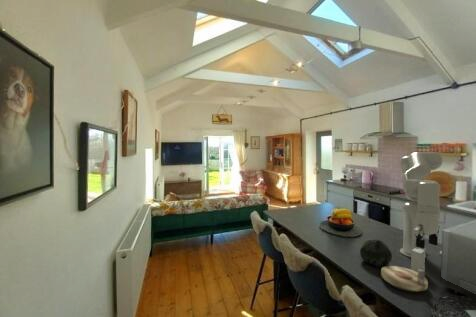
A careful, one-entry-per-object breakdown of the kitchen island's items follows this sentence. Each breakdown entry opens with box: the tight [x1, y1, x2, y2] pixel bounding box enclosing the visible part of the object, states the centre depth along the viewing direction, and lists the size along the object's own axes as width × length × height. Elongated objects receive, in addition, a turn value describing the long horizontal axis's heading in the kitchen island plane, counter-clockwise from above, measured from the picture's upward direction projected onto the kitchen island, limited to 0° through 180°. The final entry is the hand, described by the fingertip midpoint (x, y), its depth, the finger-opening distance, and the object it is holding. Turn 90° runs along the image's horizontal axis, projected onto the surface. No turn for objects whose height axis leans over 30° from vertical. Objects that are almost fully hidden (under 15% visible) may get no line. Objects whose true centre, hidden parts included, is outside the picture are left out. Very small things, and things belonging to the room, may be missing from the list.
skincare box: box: [410, 248, 426, 273], centre depth 117 cm, size 6×4×12 cm
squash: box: [359, 239, 393, 268], centre depth 127 cm, size 14×15×15 cm
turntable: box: [380, 265, 429, 292], centre depth 109 cm, size 18×18×8 cm
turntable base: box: [387, 282, 421, 293], centre depth 109 cm, size 14×14×2 cm
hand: (426, 245), depth 105 cm, fingers open, 9 cm apart
